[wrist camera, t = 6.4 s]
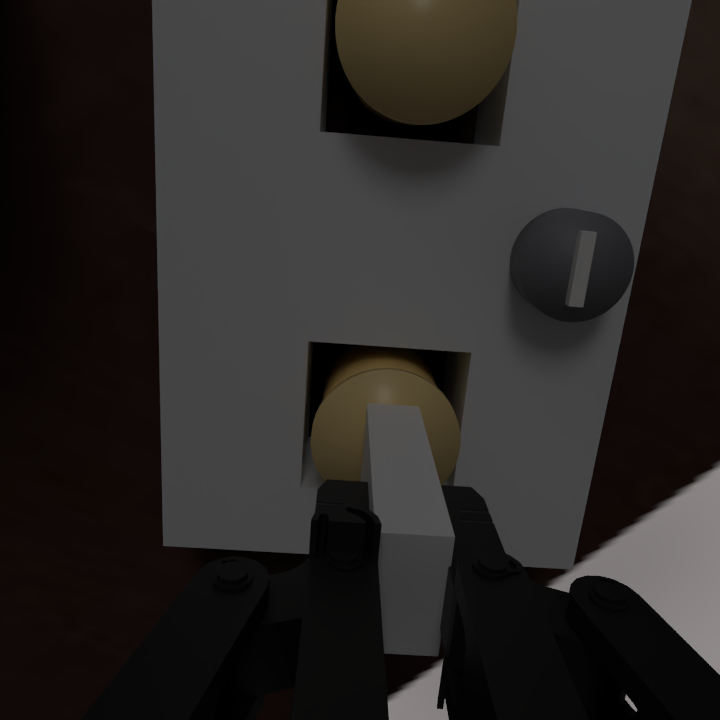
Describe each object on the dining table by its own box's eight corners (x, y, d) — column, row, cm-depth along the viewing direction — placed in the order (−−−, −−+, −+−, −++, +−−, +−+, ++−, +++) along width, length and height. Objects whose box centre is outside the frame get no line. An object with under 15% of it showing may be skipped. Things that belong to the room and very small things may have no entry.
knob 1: (333, 126, 19) (329, 116, 16) (343, -35, 18) (341, -89, 14) (473, 137, 19) (503, 131, 16) (492, -21, 18) (530, -71, 14)
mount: (192, 487, 25) (146, 579, 19) (189, -141, 18) (120, -273, 13) (538, 508, 25) (591, 604, 20) (650, -97, 19) (773, -205, 13)
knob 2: (314, 447, 23) (306, 505, 19) (321, 330, 21) (314, 367, 17) (434, 455, 23) (451, 513, 19) (448, 340, 21) (469, 377, 18)
